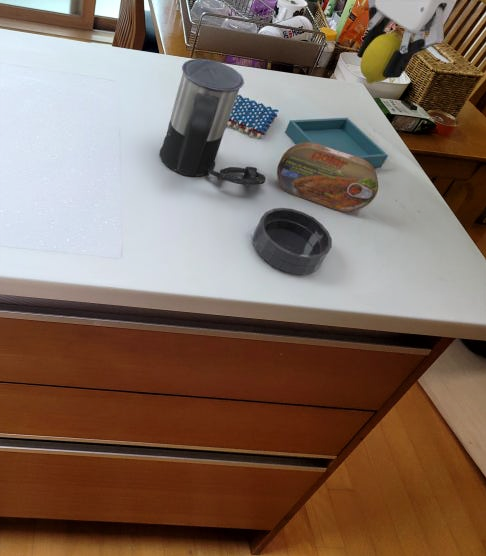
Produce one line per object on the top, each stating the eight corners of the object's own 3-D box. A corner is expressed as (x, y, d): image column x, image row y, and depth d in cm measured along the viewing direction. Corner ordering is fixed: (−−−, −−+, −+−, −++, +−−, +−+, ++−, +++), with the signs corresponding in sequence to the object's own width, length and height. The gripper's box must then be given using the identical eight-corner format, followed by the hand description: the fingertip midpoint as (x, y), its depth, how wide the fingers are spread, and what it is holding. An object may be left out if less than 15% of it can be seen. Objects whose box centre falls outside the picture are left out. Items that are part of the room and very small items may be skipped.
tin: (268, 186, 87) (289, 141, 81) (271, 176, 90) (292, 131, 84) (361, 219, 85) (389, 176, 79) (362, 208, 87) (389, 165, 81)
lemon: (392, 88, 87) (421, 38, 81) (372, 94, 84) (400, 43, 78) (365, 72, 89) (390, 22, 84) (344, 77, 87) (369, 26, 81)
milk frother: (155, 140, 91) (176, 54, 80) (243, 148, 94) (276, 66, 83) (169, 195, 82) (195, 105, 71) (267, 201, 84) (307, 116, 74)
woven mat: (224, 97, 106) (228, 88, 104) (276, 118, 103) (280, 108, 102) (206, 119, 99) (209, 109, 97) (261, 142, 96) (265, 132, 95)
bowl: (296, 222, 82) (305, 204, 80) (334, 270, 76) (346, 252, 73) (239, 230, 79) (247, 211, 76) (274, 280, 73) (285, 262, 70)
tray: (341, 128, 105) (347, 117, 103) (381, 167, 97) (388, 155, 96) (284, 132, 100) (289, 120, 98) (321, 172, 93) (328, 160, 91)
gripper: (517, -40, 68) (433, 94, 81) (423, -84, 78) (362, 41, 91) (475, -43, 65) (395, 96, 78) (383, -89, 76) (326, 41, 89)
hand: (378, 65), depth 85 cm, fingers closed on lemon, 5 cm apart
